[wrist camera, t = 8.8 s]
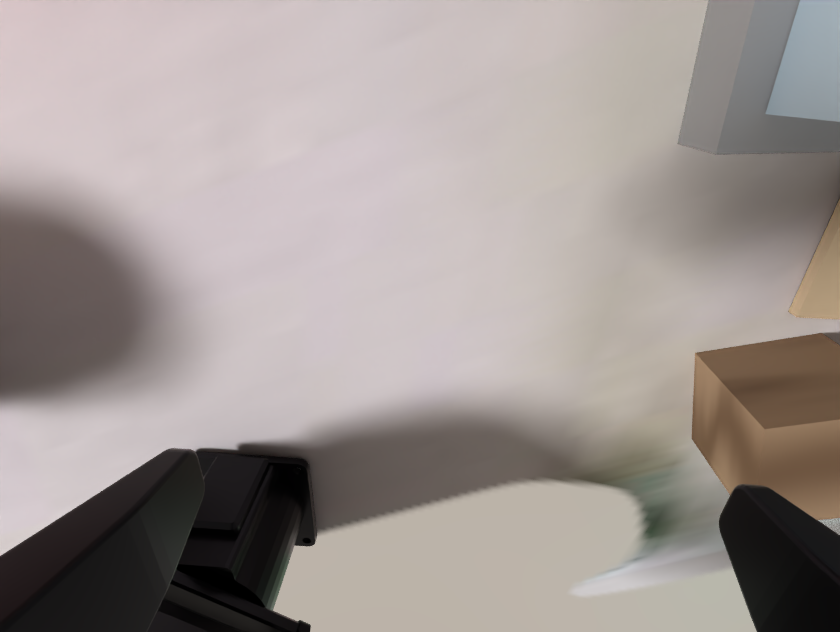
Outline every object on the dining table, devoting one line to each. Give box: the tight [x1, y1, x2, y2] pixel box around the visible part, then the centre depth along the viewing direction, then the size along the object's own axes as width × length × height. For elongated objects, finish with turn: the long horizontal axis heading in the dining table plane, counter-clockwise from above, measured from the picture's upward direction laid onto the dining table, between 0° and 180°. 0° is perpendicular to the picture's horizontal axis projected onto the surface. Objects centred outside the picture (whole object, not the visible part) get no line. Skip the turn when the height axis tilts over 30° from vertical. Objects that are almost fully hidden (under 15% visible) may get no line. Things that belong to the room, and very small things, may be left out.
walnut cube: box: [692, 333, 840, 520], centre depth 19 cm, size 5×5×5 cm
